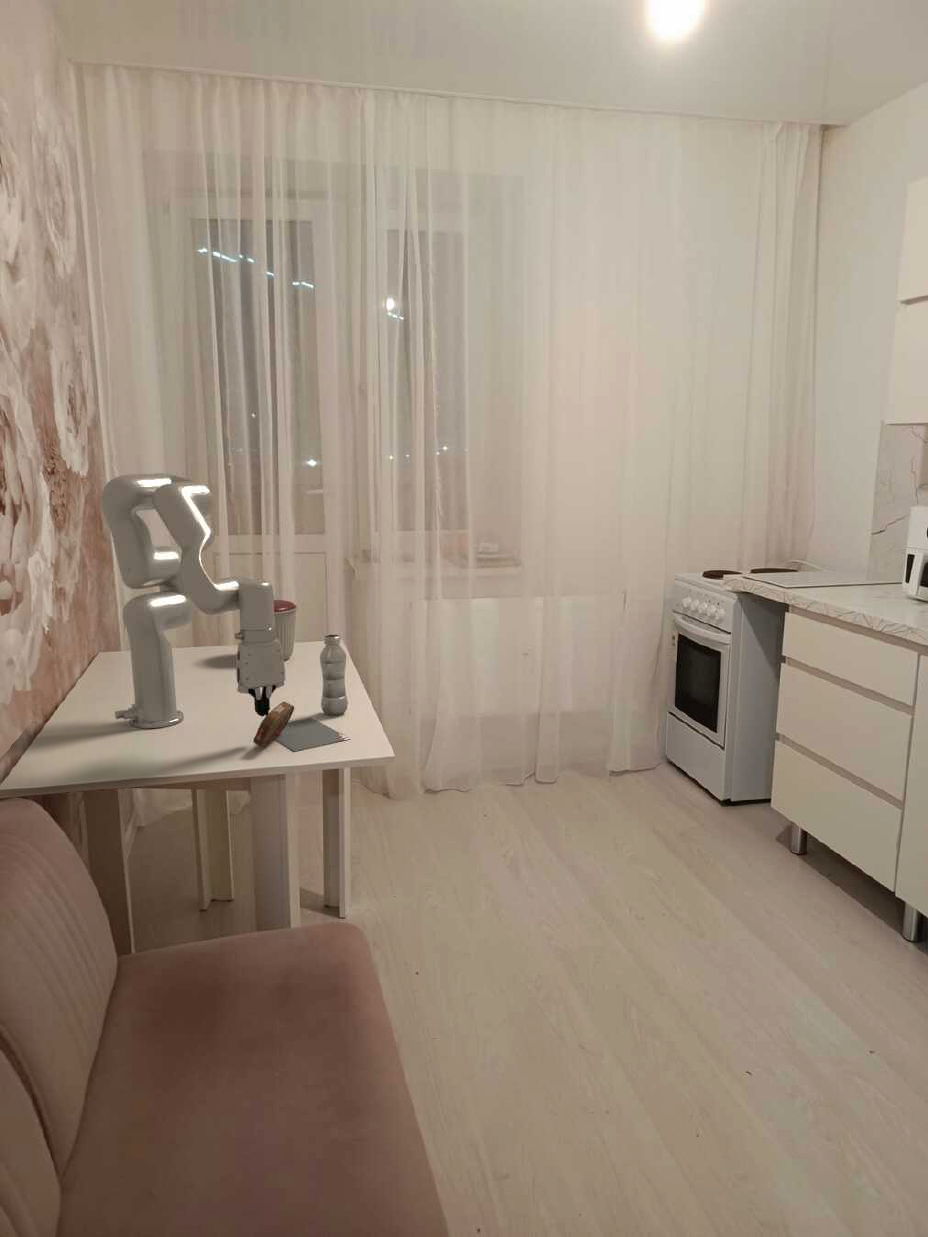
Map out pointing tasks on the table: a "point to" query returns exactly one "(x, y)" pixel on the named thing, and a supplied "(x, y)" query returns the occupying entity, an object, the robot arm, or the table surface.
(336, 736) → the mat
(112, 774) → the table surface
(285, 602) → the canister
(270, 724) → the tin
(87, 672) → the table surface
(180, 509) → the robot arm
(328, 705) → the plastic bottle
